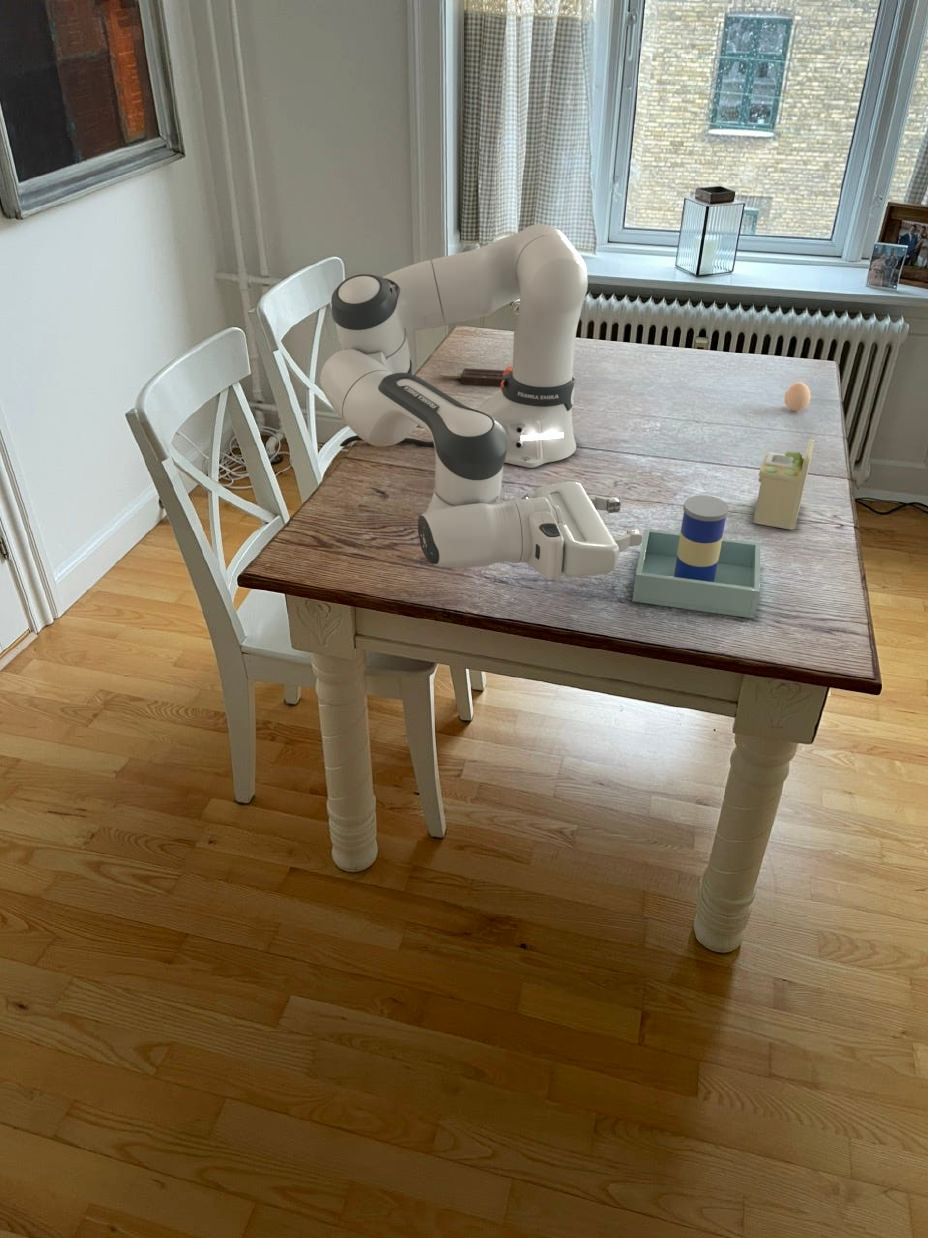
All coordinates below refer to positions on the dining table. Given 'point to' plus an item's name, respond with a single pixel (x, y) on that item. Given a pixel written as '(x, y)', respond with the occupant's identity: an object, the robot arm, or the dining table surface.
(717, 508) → the snack tube
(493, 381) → the ice cream bar
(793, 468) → the toy sink
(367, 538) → the dining table surface
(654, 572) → the green tray
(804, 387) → the egg
